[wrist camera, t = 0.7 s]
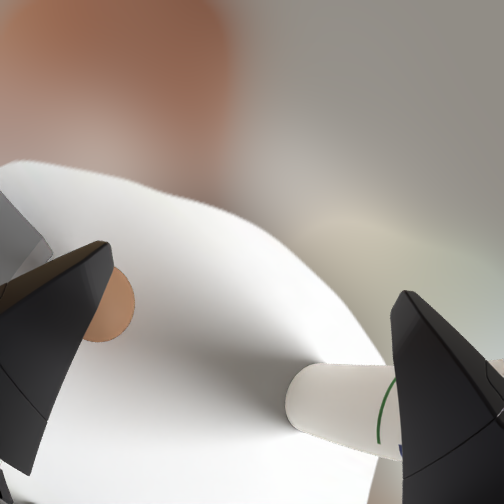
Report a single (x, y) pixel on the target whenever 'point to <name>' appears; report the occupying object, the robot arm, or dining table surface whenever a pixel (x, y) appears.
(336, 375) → the cylindrical container
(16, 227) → the socket block
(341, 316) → the dining table surface
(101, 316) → the peg
